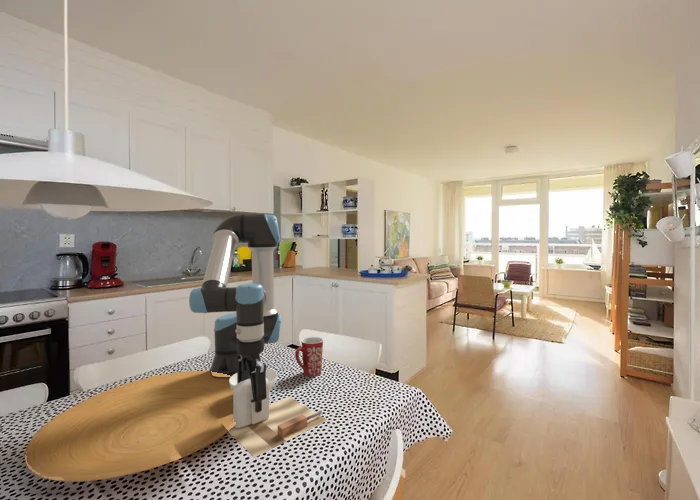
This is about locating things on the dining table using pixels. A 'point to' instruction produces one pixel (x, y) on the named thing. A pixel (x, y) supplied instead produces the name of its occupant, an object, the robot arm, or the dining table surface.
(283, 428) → the awl
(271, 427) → the light wooden cutting board
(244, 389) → the photo printer
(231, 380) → the bowl
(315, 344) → the mug
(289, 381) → the dining table surface
